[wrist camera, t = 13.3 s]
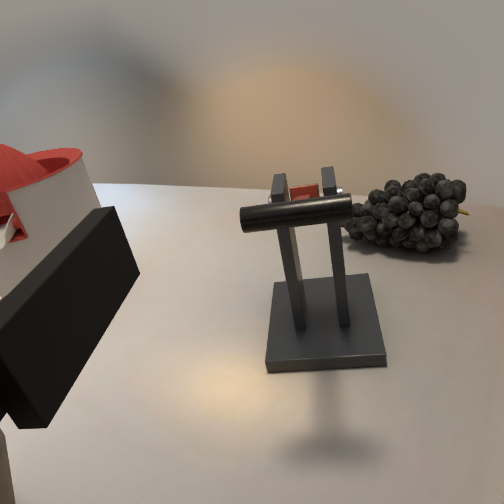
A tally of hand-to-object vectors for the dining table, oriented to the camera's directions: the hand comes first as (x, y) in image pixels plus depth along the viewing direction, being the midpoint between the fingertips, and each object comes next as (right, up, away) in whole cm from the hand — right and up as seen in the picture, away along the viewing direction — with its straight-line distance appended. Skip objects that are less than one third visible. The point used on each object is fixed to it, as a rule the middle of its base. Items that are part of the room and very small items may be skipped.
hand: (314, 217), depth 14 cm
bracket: (+5, -8, +28) cm, 29 cm away
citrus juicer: (-25, -7, +41) cm, 49 cm away
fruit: (+16, 0, +38) cm, 41 cm away
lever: (+2, +1, +16) cm, 16 cm away
